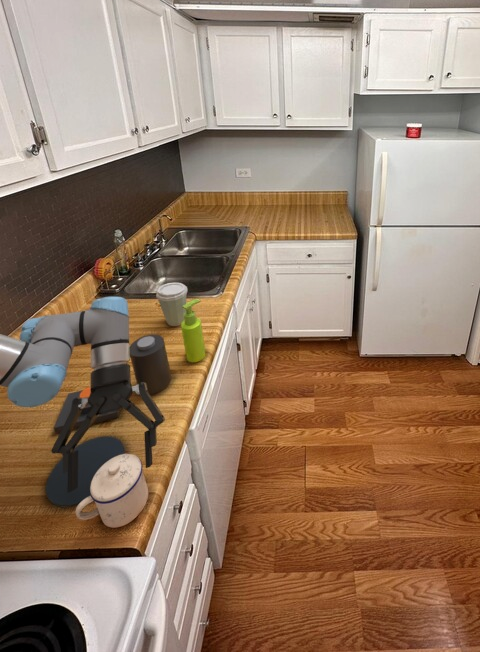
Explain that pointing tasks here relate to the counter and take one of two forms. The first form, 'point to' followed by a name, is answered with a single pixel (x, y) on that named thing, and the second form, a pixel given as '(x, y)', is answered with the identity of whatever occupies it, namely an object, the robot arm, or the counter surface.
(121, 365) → the robot arm
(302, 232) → the counter surface
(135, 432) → the counter surface
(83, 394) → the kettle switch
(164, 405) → the counter surface
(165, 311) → the disposable coffee cup
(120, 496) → the teacup with lid
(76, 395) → the kettle base
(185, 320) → the soap dispenser
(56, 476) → the mat
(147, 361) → the dark grey cylinder
